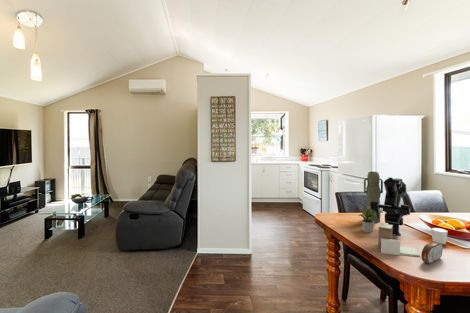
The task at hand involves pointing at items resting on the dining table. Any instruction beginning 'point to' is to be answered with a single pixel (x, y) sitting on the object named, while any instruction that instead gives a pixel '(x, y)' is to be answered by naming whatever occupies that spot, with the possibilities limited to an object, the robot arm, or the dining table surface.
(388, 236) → the marked block
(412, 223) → the dining table surface
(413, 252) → the pad
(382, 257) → the dining table surface
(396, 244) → the low screen
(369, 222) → the house plant
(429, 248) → the tin
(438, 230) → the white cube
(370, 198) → the thermos
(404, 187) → the robot arm
